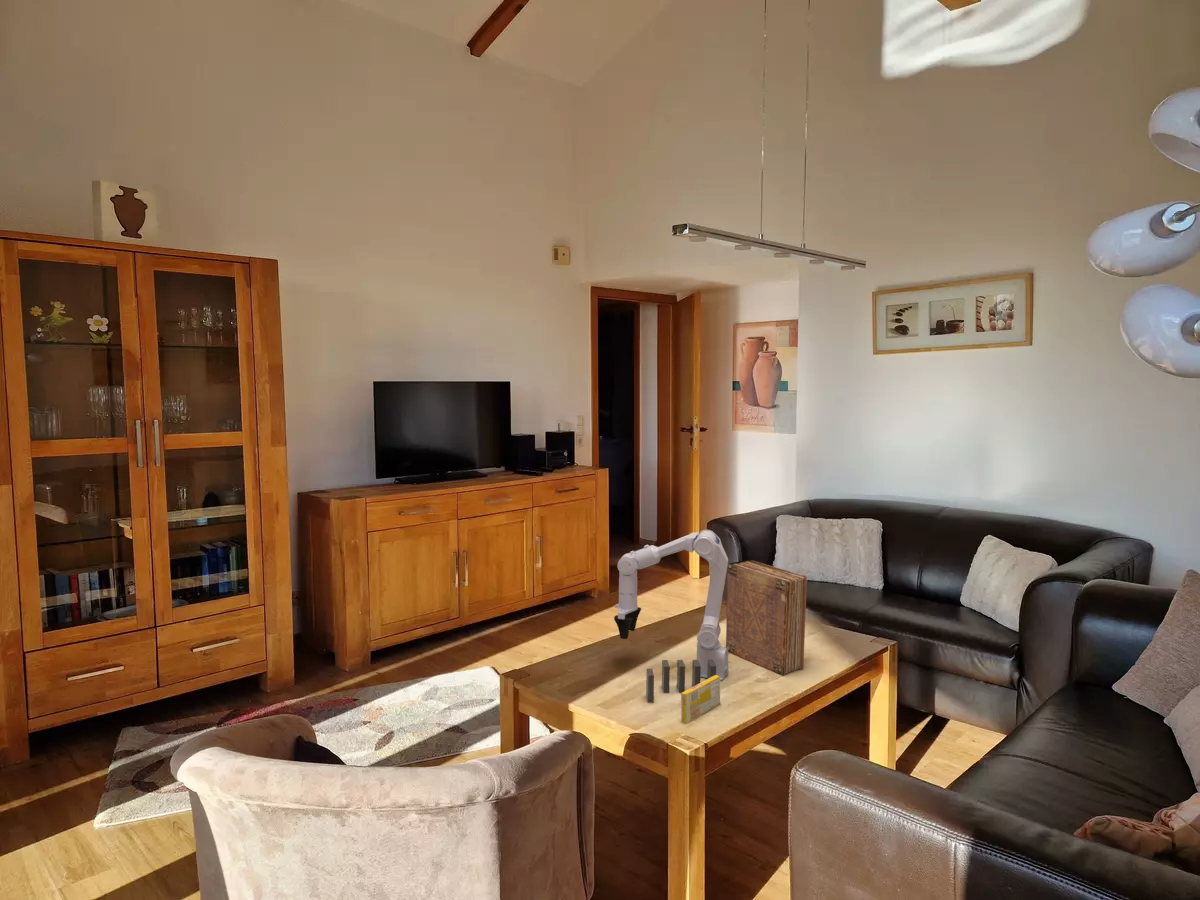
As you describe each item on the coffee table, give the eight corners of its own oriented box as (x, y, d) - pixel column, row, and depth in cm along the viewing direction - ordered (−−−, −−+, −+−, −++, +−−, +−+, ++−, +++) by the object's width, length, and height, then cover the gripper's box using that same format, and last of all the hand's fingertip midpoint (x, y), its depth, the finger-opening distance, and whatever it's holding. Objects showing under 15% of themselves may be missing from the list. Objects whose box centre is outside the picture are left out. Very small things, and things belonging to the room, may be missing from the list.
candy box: (714, 702, 222) (715, 674, 221) (720, 704, 221) (721, 676, 220) (680, 721, 210) (680, 691, 209) (686, 724, 209) (687, 694, 208)
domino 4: (697, 685, 233) (697, 659, 232) (700, 692, 228) (700, 666, 227) (691, 685, 233) (692, 659, 232) (694, 692, 228) (695, 666, 227)
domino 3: (682, 685, 233) (682, 659, 232) (684, 693, 228) (685, 666, 227) (676, 685, 233) (677, 659, 232) (679, 693, 228) (679, 666, 227)
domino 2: (667, 686, 233) (667, 660, 232) (669, 693, 228) (669, 666, 227) (661, 686, 233) (662, 660, 232) (663, 693, 228) (664, 666, 227)
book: (804, 670, 245) (807, 576, 242) (783, 676, 240) (787, 581, 237) (745, 645, 266) (747, 559, 263) (725, 651, 261) (727, 562, 257)
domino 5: (712, 685, 233) (713, 659, 232) (715, 692, 228) (716, 666, 227) (706, 685, 233) (707, 659, 232) (710, 692, 228) (710, 666, 227)
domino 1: (651, 695, 226) (652, 668, 225) (653, 702, 221) (654, 675, 220) (646, 695, 226) (646, 668, 225) (648, 702, 221) (648, 675, 220)
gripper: (622, 584, 253) (622, 625, 255) (608, 597, 240) (608, 640, 241) (643, 587, 251) (643, 628, 253) (630, 600, 238) (630, 643, 239)
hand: (627, 634), depth 247 cm, fingers open, 7 cm apart
